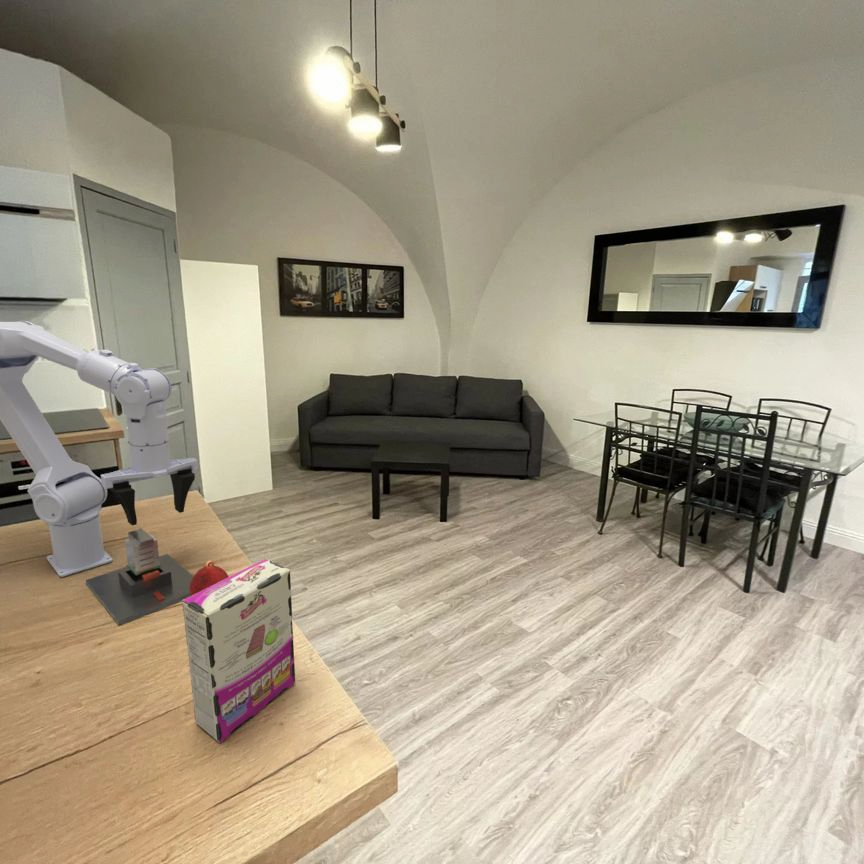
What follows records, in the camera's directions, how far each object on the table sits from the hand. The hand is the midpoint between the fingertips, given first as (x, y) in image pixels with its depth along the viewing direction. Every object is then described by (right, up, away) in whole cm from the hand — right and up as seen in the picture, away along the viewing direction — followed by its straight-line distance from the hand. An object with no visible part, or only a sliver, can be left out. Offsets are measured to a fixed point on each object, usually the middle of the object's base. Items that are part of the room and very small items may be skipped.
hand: (156, 516), depth 84 cm
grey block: (0, -9, -4) cm, 9 cm away
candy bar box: (+26, -18, -26) cm, 41 cm away
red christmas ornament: (+13, -13, -7) cm, 20 cm away
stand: (0, -11, -3) cm, 12 cm away
